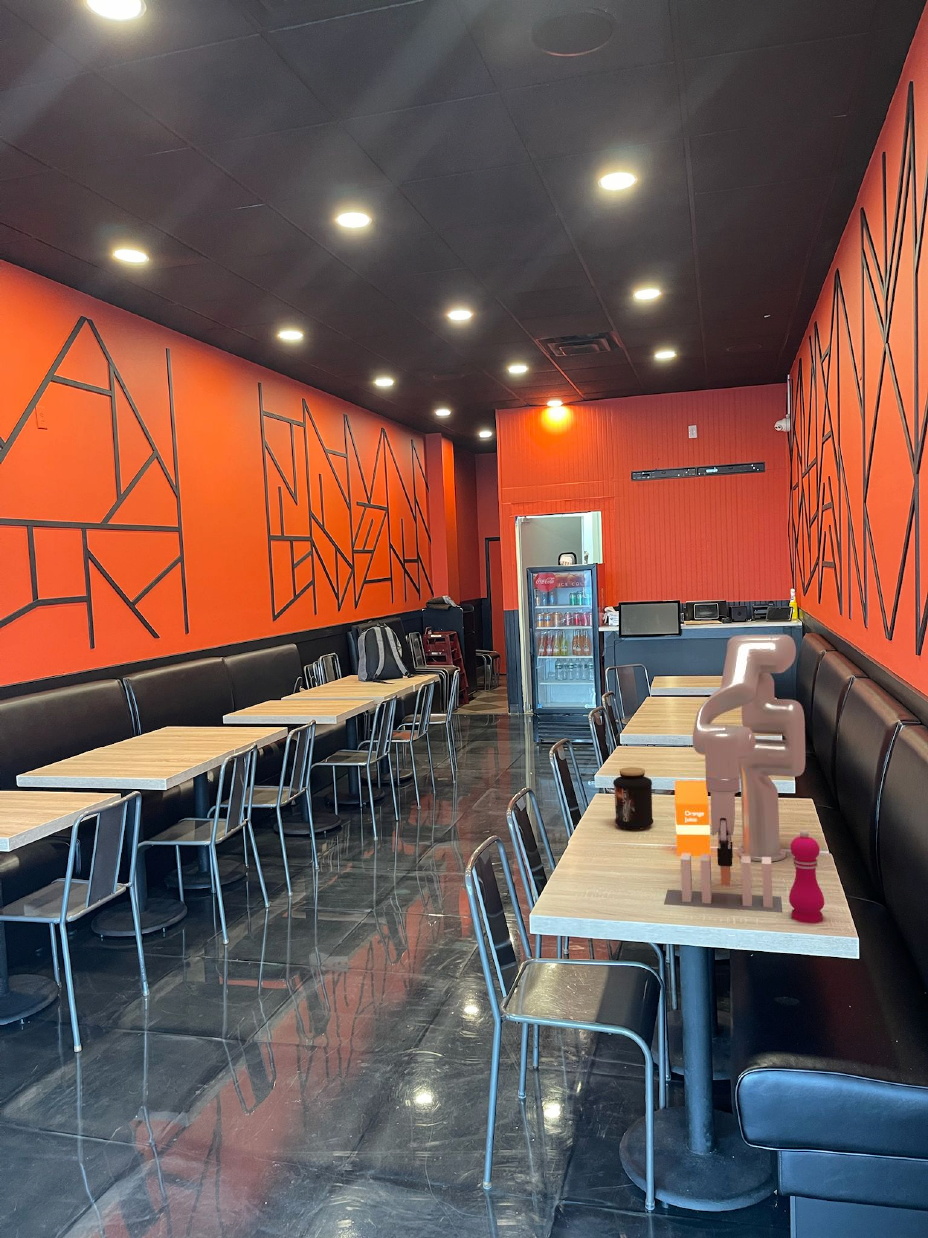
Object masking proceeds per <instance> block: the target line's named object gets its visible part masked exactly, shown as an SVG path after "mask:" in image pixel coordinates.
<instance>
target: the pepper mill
mask: <svg viewBox="0 0 928 1238" xmlns="http://www.w3.org/2000/svg"><path fill="white" fill-rule="evenodd" d="M809 834H810V833H809V831H808V830H807V829H802V830H800V832H799V835H800V836H797V837H795V838H793V839H792V840H791V843H790V849H789V850H790V852H791V854H792V856H793V859H792V860H793V862H792V864H793V866H794V867H795V878H794V880H793V881H794V882H793V884H792V887H791V888H790V891H789V894H788V895H789V896H788V900H789V901H788V903H789V904H790V906H791V907H792V910H791V919H793V920H795V921H797V922H799V923H804V924H816V923H821V922H822V921H823V912H822V911H821V910H822V909H823V908H824V906H825V898H824V897H825V896H824V894H823V892H822V890H821V887H820V886H819V884H818V881H817V875H816V873H817V872H816V871H817V869H816V868H818V866H819V865H818V859H817V858H818V856H819V855H820V852H821V851H820V845H819V843H818V842H817V841H816V839H814V838H813V837H811V836H810V835H809Z"/></svg>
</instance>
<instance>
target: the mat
mask: <svg viewBox="0 0 928 1238" xmlns="http://www.w3.org/2000/svg"><path fill="white" fill-rule="evenodd" d="M772 898H773V908H770V907H764V906H763V894H762V895H759V894H752V906H743V898H742V893H731V892H730V893H729V892H714V891H712V900H711V903H702V891H700V890H699V891H696V890H695V891H694V890H692V900H691V902H682V889H681V890H680V889H667V891H666V894H665V898H664V901H663V905H664V906H665V905H667V906H681V907H694V908H695V907H696V908H698V907H699V908H708V909H709V908H710V909H711V908H712V909H724V910H725V909H726V910H738V911H741V910H742V911H752V912H753V911H755V912H769V913H783V912H784V911H783V904H782V903H783V901H782V896H778V895H776V896H775V895H772Z"/></svg>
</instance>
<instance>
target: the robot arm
mask: <svg viewBox="0 0 928 1238" xmlns="http://www.w3.org/2000/svg"><path fill="white" fill-rule="evenodd" d="M726 649H727V651H726V655H725V660H724V666H723V673H722V677H721V678H722V679H721V684H720V688H718V690H716V691H714V692H713V693H712V694H711V695H710V696H708V698H707V699H706V700H705V701H704V702H703V703H702V704H701V705H700V707H699V708H698V711H697V712H696V716H695V721H694V727H693V732H692V746H693V749H694V751H695V752H696V753H697V754H699V755H702V756H704V761H705V781H706V791H707V792H709V793H710V827H711V828H710V832H711V833H710V835H711V836H712V837H713V836H715V835H717V848H716V849H717V851H716V854H717V865H718V866H719V867H721V866H730V868H731V867H733V858H734V856H733V855H734V854H733V853H734V852H733V848H734V847H733V841H732V836H734V830H735V821H736V817H735V816H736V799H735V798H736V796H735V795H736V794H737V793H739V792H740V797H741V798H740V799H741V800H740V801H741V803H740V805H741V827H742V829H741V830H742V831H741V832H742V833H741V834H742V845H740V846H739V847H737V850H736V851H737V855H738V857H740V858H741V856H750V858H751V861H753V862H762V857H771V862H778V861H781V860H785V858H786V857H787V851H786V850H785V849H784V848H782V847H781V842H780V841H781V838H780V837H781V836H780V835H781V834H780V811H779V792H778V789H777V786H776V785H775V783H774V781H773V780H772V779H771V778H770V777H771V776H775V777H790V778H791V777H792V778H793V777H796V778H797V777H799V776H801V775H803V773H804V772H805V768H806V732H805V731H806V728H805V727H806V725H805V724H806V722H805V713H804V709H803V705H802V704H801V703H800V702H799V701H797V700H794V699H787V698H785V699H784V698H782V699H781V698H780V699H779V698H776V696H775V680H774V678H773V676H772V675H771V674H781V673H784V672H786V671H787V670H788V669H789V668H791V666H792V665H793V663H794V661H795V659H796V655H797V654H796V653H797V648H796V642H795V640H794V639H793V638H792V636H790V635H789V634H741V635H735V636H732V637H730V638H729V640H728V641H727V645H726ZM740 707H741V723H742V725H730V724H729V725H728V724H714V723H713V721H714V720H715V719H716V718H717V717H719V716H721V715H723V714H725V713H728V712H729V711H733V710H735V709H738V708H740ZM712 723H713V724H712ZM755 734H756V735H757V734H759V735H772V736H773V735H775V736H776V735H777V736H784V738H785V740H784V739H770V738H768V739H767V738H756V736H755ZM769 776H770V777H769ZM720 838H721V839H720ZM726 838H728V840H726Z"/></svg>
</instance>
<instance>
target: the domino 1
mask: <svg viewBox="0 0 928 1238" xmlns="http://www.w3.org/2000/svg"><path fill="white" fill-rule="evenodd" d="M692 876H693V875H692V856H691V853H682V856H680V879H681V880H680V881H681V882H680V883H681V890H682V902H691V900H692V891H693V877H692Z"/></svg>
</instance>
